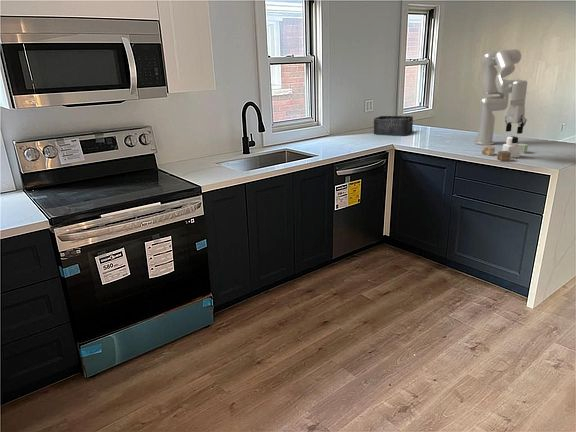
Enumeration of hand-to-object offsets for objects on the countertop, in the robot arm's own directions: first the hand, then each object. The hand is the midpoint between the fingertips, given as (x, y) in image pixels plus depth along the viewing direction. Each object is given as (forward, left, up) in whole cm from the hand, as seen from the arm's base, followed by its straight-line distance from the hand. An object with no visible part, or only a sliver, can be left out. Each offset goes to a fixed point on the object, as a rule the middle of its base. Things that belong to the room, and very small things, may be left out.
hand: (513, 132), depth 250 cm
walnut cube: (+5, -9, -15) cm, 18 cm away
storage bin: (-107, -29, -15) cm, 112 cm away
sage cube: (-8, +13, -15) cm, 21 cm away
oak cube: (-11, -8, -15) cm, 20 cm away
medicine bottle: (-1, 0, -15) cm, 15 cm away
